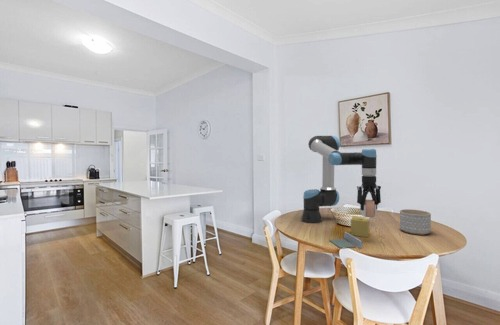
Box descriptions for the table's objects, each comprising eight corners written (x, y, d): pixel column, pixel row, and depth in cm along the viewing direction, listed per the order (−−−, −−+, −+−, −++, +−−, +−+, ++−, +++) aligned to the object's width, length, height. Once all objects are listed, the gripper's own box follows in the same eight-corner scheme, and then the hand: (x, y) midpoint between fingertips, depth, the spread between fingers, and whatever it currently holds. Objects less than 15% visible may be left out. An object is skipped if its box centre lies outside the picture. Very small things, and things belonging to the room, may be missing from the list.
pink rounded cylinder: (360, 214, 143) (360, 199, 143) (370, 214, 144) (370, 199, 144) (367, 217, 137) (367, 201, 137) (376, 217, 138) (376, 201, 138)
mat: (329, 240, 141) (329, 239, 141) (343, 239, 143) (343, 238, 143) (340, 248, 129) (340, 247, 129) (355, 247, 131) (355, 246, 131)
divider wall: (344, 238, 145) (344, 231, 145) (345, 238, 145) (345, 231, 145) (360, 248, 129) (360, 241, 129) (362, 248, 129) (362, 241, 129)
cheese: (369, 233, 155) (369, 217, 154) (368, 238, 145) (368, 221, 145) (352, 230, 160) (352, 215, 160) (349, 235, 151) (349, 219, 151)
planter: (436, 236, 147) (436, 215, 146) (406, 235, 150) (406, 214, 150) (422, 228, 163) (422, 209, 162) (395, 227, 166) (395, 208, 166)
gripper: (357, 176, 134) (357, 218, 135) (388, 175, 137) (388, 216, 138) (350, 175, 142) (350, 214, 142) (379, 174, 145) (379, 213, 145)
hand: (368, 215), depth 140 cm, fingers closed on pink rounded cylinder, 6 cm apart
